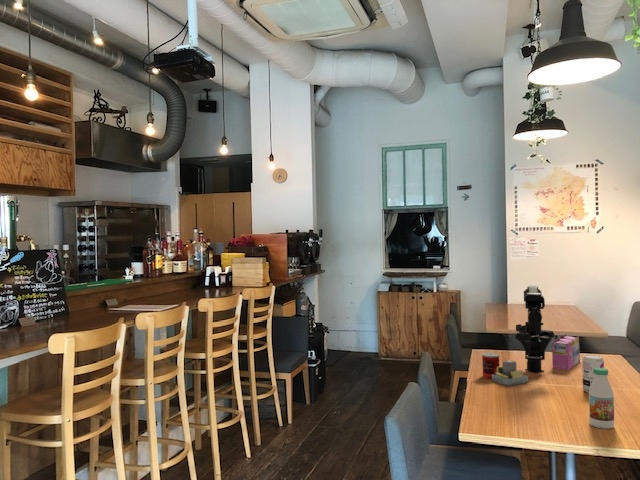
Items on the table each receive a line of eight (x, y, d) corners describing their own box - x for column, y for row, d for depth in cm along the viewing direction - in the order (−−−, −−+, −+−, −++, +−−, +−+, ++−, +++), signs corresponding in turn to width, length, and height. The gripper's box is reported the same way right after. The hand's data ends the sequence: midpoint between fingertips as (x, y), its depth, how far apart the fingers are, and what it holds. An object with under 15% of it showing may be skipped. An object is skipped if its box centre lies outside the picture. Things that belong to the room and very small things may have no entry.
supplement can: (606, 391, 215) (606, 356, 215) (601, 395, 209) (600, 360, 209) (586, 387, 221) (585, 353, 221) (580, 392, 215) (579, 357, 215)
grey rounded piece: (510, 372, 237) (509, 359, 237) (519, 375, 231) (519, 361, 231) (500, 374, 235) (499, 360, 235) (509, 377, 229) (509, 363, 229)
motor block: (514, 376, 241) (514, 364, 241) (530, 381, 232) (530, 369, 232) (492, 380, 235) (491, 367, 235) (507, 385, 226) (507, 372, 226)
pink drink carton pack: (565, 359, 273) (564, 334, 273) (581, 361, 268) (580, 336, 268) (552, 368, 255) (551, 341, 255) (568, 370, 250) (568, 343, 250)
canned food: (497, 374, 245) (496, 352, 245) (501, 379, 237) (500, 356, 237) (481, 374, 246) (480, 352, 246) (484, 379, 238) (484, 356, 238)
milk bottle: (584, 422, 180) (583, 366, 180) (605, 420, 181) (603, 365, 181) (598, 430, 173) (597, 372, 173) (619, 428, 173) (618, 371, 173)
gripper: (535, 316, 243) (536, 348, 243) (506, 319, 235) (506, 352, 235) (554, 319, 232) (555, 353, 232) (524, 322, 225) (525, 357, 225)
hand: (535, 353), depth 231 cm, fingers open, 9 cm apart
